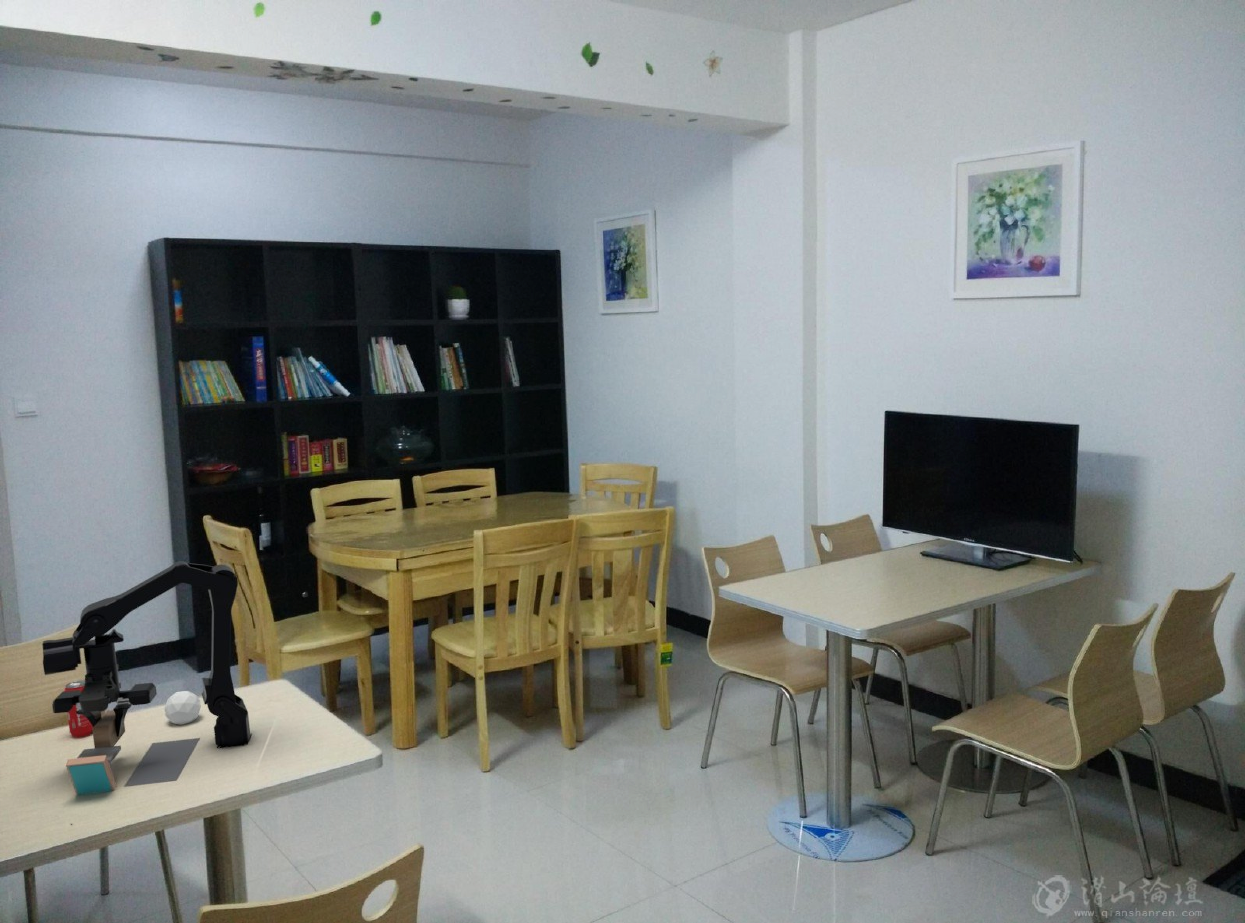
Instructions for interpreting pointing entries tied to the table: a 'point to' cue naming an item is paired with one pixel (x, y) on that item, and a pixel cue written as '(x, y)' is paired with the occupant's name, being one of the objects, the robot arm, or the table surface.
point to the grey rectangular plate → (163, 762)
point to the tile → (91, 774)
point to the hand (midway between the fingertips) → (110, 736)
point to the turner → (104, 738)
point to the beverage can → (78, 722)
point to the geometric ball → (182, 707)
